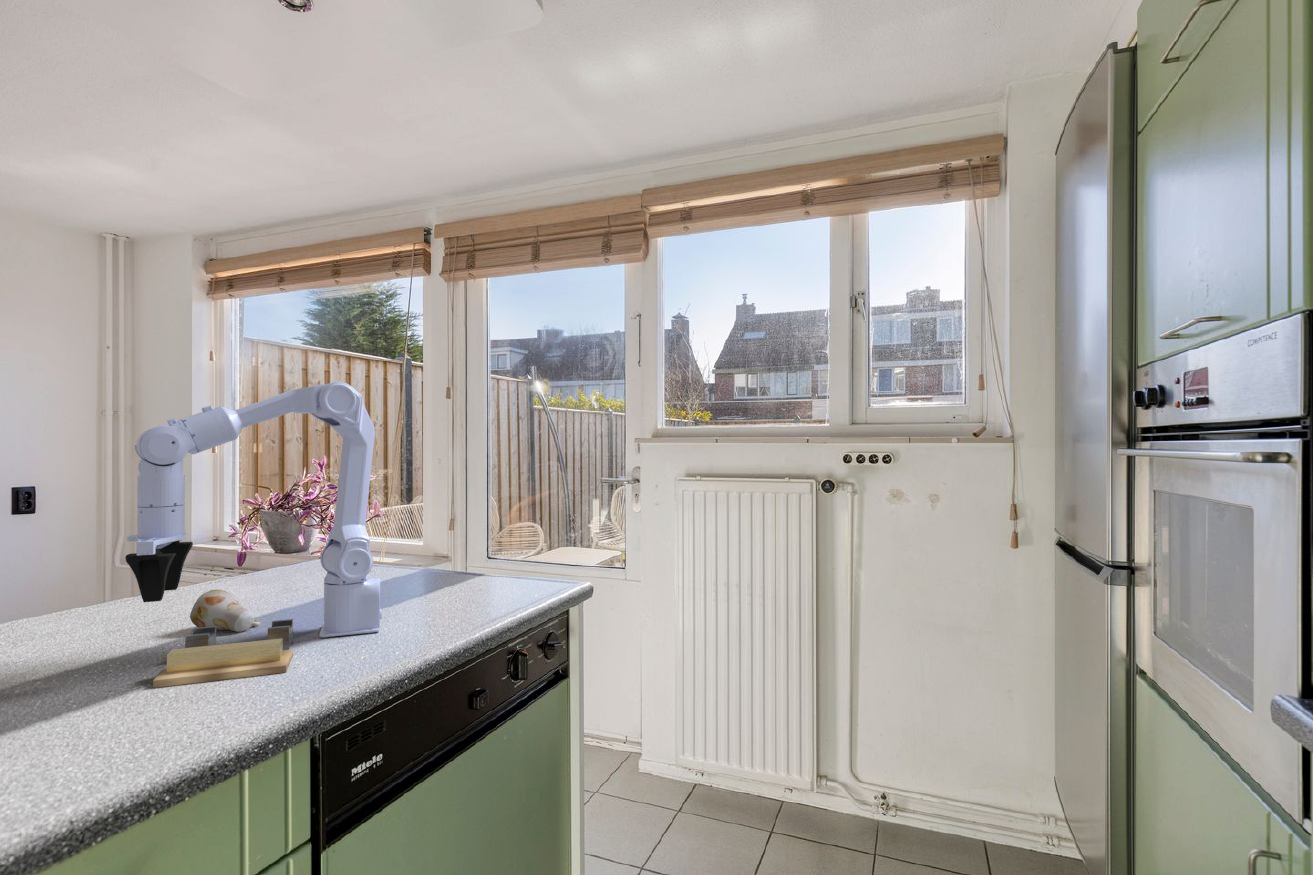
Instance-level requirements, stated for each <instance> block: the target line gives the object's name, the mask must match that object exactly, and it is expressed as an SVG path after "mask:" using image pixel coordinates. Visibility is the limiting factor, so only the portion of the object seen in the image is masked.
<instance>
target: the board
mask: <svg viewBox="0 0 1313 875" xmlns="http://www.w3.org/2000/svg"><path fill="white" fill-rule="evenodd" d="M293 656H294V649H293V648H292V649H291V648H289V650H283V656H282V658H281V660H280V661H273V662H264V663H255V664H246V665H237V666H228V667H219V668H210V669H201V670H192V671H183V672H174V673H167V665H166V666H165V667H164V669H162V671H161V672H160V673H158V675H157V676H156V677H155V678H154V679H153V680H152V688H154V689H155V688H162V687H163V688H164V687H172V686H181V685H188V684H197V683H198V684H199V683H204V682H213V681H215V682H216V681H223V680H231V679H240V678H248V677H249V678H250V677H255V676H256V677H257V676H266V675H274V674H282V673H287V670H288V668H289V666H290V664H291V661H292V660H293Z"/></svg>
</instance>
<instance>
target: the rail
mask: <svg viewBox="0 0 1313 875" xmlns="http://www.w3.org/2000/svg"><path fill="white" fill-rule="evenodd" d="M282 656H283V638H282V639H271V640H268V639H264V640H263V639H262V640H253V641H243V642H233V643H232V642H231V643H224V644H223V643H222V644H216V645H211V646H201V647H191V648H185V647H184V648H183V647H182V648H174V649H171V650H170V651H169V652H168V653H167V654H166V666H167V673H174V672H183V671H192V670H201V669H210V668H219V667H228V666H237V665H246V664H255V663H264V662H273V661H280V660H281V658H282Z"/></svg>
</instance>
